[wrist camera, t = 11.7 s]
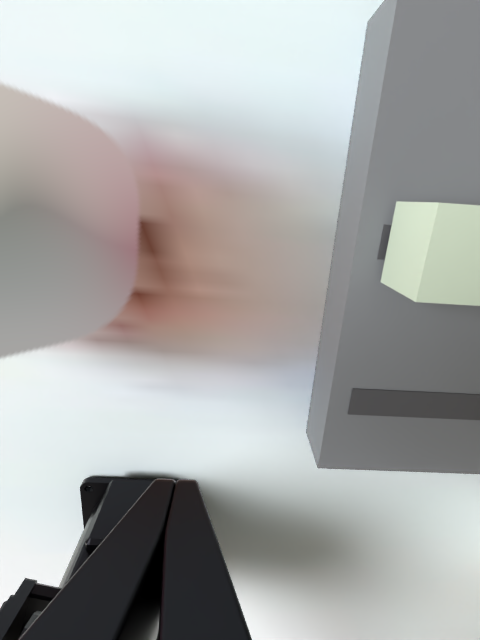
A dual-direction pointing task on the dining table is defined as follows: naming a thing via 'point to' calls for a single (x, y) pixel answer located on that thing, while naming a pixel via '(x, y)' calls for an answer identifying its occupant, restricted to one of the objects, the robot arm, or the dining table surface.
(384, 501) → the dining table surface
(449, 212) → the sage slider
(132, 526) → the robot arm
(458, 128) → the control panel
